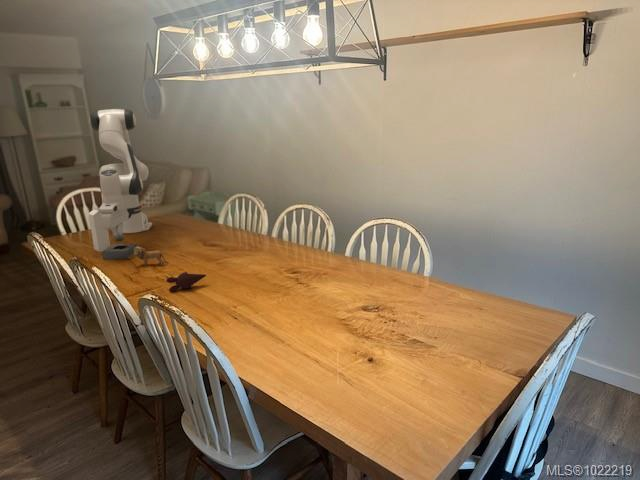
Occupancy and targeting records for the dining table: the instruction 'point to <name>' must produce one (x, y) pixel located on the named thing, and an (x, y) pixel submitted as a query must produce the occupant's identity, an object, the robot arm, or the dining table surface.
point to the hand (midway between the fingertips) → (118, 233)
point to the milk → (98, 231)
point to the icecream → (184, 281)
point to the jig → (119, 251)
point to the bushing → (119, 233)
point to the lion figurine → (148, 255)
